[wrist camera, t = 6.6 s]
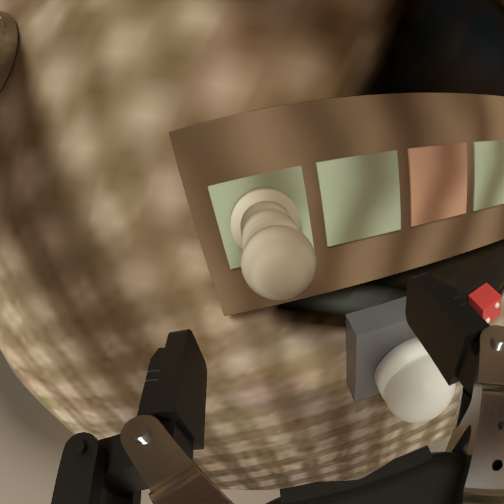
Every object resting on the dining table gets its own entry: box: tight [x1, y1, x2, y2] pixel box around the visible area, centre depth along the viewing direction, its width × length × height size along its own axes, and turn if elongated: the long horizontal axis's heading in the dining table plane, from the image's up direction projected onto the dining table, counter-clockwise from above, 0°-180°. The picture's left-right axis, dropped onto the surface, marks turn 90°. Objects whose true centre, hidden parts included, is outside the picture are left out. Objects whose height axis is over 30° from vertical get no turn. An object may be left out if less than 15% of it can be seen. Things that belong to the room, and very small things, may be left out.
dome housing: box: [345, 296, 416, 402], centre depth 27 cm, size 10×10×3 cm
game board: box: [169, 93, 504, 316], centre depth 21 cm, size 30×14×2 cm, turn 102°
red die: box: [468, 283, 502, 324], centre depth 26 cm, size 3×3×3 cm
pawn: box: [230, 187, 316, 300], centre depth 17 cm, size 4×4×8 cm
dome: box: [374, 337, 456, 423], centre depth 22 cm, size 7×7×7 cm
